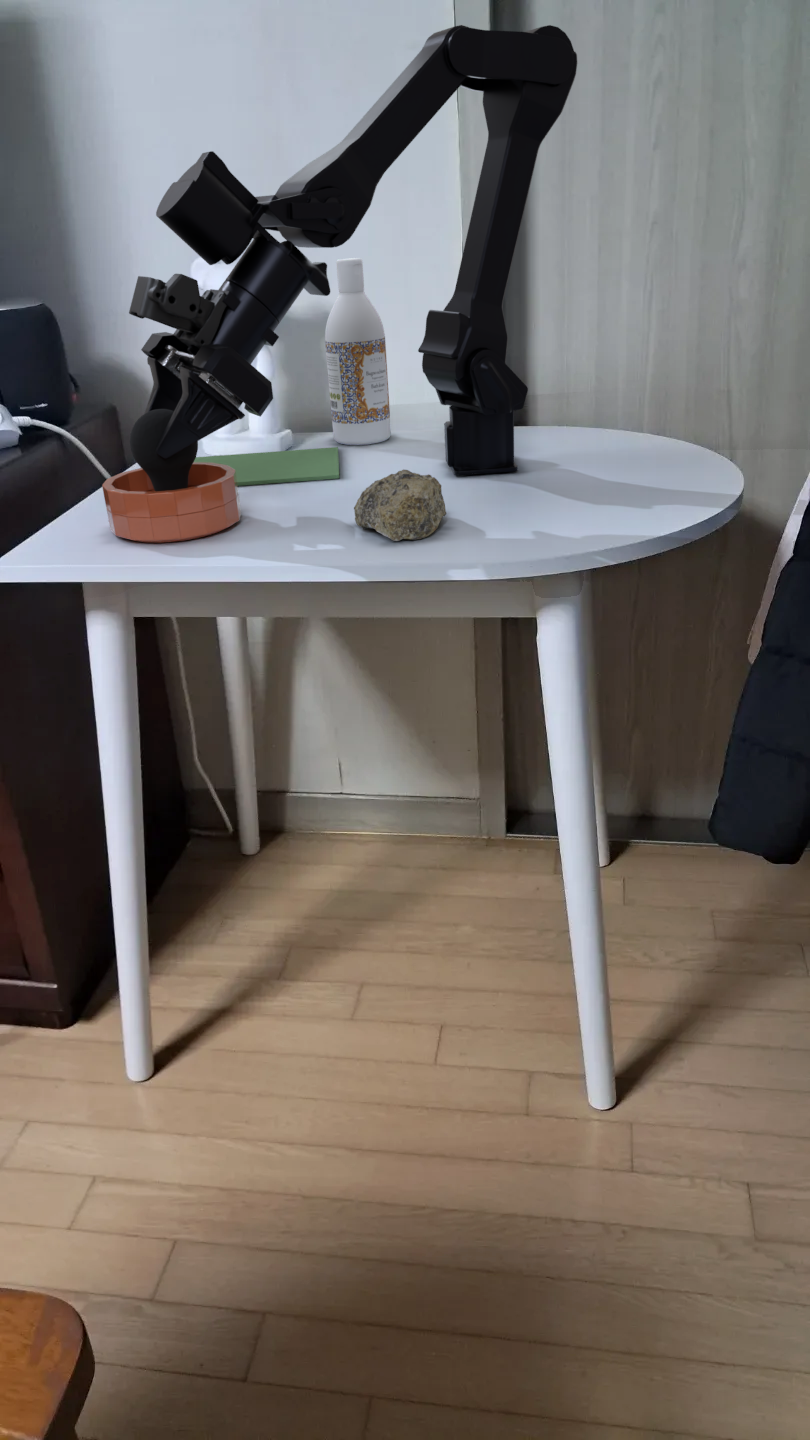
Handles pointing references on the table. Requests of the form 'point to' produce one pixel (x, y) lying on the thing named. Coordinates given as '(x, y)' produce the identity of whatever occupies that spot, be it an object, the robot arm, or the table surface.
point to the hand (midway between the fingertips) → (149, 450)
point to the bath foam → (356, 362)
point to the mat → (281, 465)
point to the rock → (402, 506)
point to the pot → (172, 505)
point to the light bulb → (158, 469)
